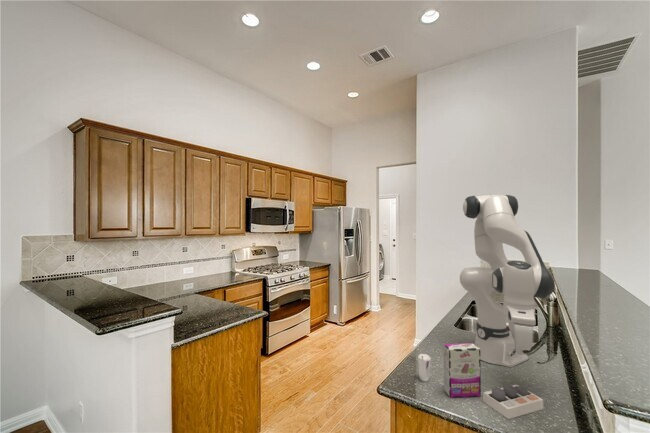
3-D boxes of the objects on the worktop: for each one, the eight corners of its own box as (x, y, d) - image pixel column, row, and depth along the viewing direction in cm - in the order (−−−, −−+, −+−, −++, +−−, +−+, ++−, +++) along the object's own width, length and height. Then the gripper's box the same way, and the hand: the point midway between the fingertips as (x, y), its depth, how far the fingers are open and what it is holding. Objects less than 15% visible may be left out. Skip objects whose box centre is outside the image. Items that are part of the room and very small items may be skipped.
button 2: (519, 394, 100) (519, 385, 100) (530, 400, 97) (530, 391, 97) (511, 396, 99) (511, 387, 99) (522, 402, 95) (522, 393, 95)
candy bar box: (472, 388, 104) (473, 342, 105) (481, 397, 99) (481, 348, 100) (442, 389, 104) (442, 343, 104) (449, 398, 99) (449, 349, 99)
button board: (516, 393, 102) (516, 383, 102) (543, 409, 93) (543, 398, 93) (483, 401, 97) (483, 391, 97) (508, 419, 89) (508, 408, 89)
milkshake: (415, 381, 109) (415, 354, 109) (419, 374, 113) (419, 348, 113) (428, 385, 106) (428, 357, 106) (431, 378, 111) (432, 352, 111)
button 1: (497, 395, 97) (497, 386, 97) (508, 402, 93) (508, 393, 93) (488, 397, 96) (488, 388, 96) (499, 404, 92) (499, 395, 92)
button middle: (508, 392, 99) (508, 383, 99) (519, 399, 95) (519, 390, 95) (500, 395, 97) (500, 385, 97) (510, 401, 94) (510, 392, 94)
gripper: (504, 301, 108) (503, 339, 108) (512, 318, 90) (511, 363, 89) (524, 304, 105) (524, 342, 105) (537, 321, 87) (536, 368, 87)
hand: (518, 352), depth 97 cm, fingers closed
